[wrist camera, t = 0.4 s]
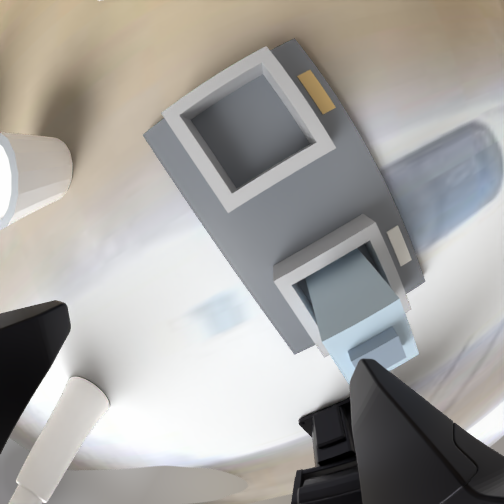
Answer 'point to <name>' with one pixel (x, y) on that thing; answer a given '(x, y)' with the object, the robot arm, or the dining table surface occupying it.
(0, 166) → the white cup
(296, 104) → the panel
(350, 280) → the plug
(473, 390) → the dining table surface
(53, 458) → the cosmetic bottle
